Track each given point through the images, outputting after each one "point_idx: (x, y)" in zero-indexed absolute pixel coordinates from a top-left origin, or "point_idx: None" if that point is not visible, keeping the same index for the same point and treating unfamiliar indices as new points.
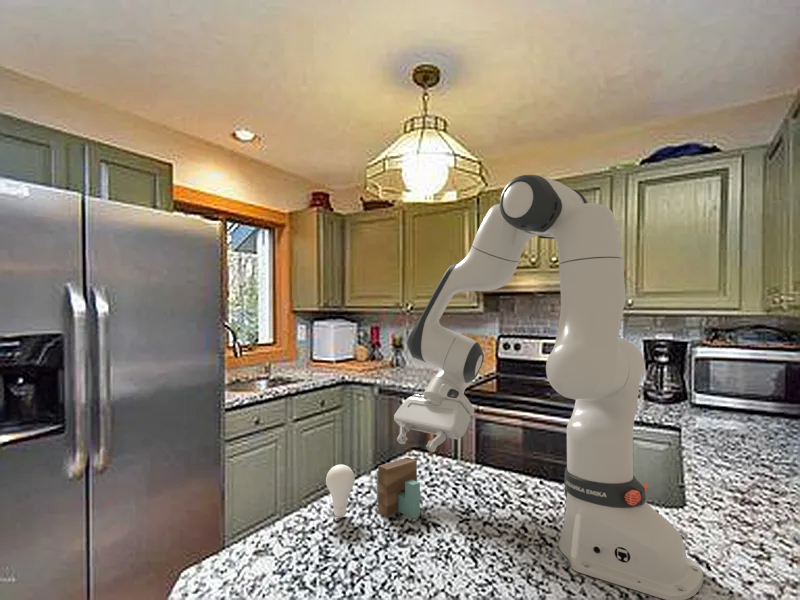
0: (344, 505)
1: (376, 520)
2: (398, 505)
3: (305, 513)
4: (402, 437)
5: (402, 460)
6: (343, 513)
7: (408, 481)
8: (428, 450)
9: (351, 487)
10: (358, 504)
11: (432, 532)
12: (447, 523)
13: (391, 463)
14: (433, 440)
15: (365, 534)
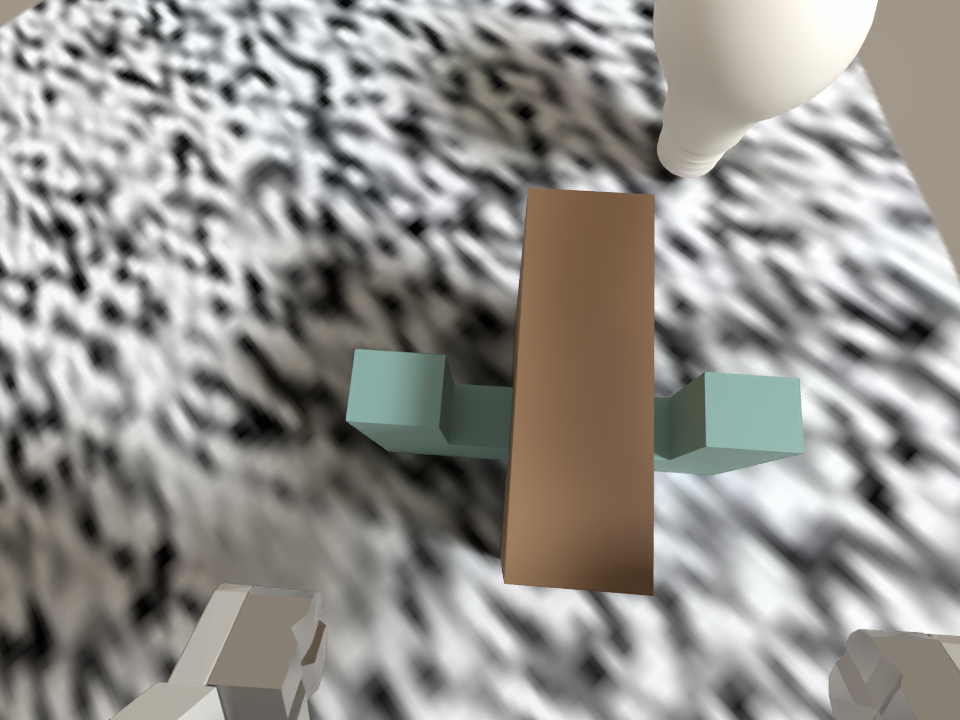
0: (663, 114)
1: None
2: None
3: (839, 84)
4: (897, 682)
5: (611, 468)
6: (659, 140)
7: (431, 379)
8: (318, 632)
9: (661, 64)
10: (753, 324)
11: (225, 349)
12: (214, 482)
13: (621, 324)
14: (171, 696)
15: (459, 135)
